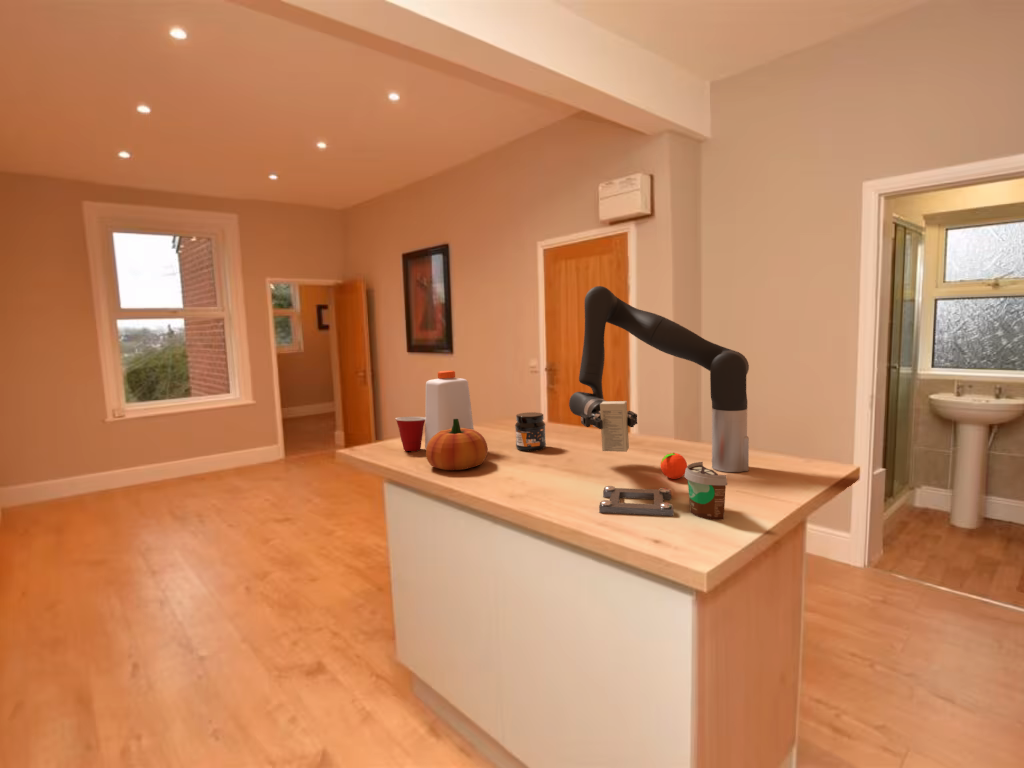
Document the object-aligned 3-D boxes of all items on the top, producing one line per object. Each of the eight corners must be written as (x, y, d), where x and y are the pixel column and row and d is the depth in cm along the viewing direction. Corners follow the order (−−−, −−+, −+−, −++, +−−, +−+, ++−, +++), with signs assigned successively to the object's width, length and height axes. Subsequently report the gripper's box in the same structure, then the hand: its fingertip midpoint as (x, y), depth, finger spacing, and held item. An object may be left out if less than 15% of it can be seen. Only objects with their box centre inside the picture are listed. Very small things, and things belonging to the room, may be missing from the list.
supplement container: (513, 451, 182) (512, 417, 181) (518, 445, 193) (517, 412, 191) (544, 451, 181) (543, 416, 179) (547, 444, 191) (546, 411, 190)
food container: (675, 504, 124) (675, 462, 123) (701, 503, 124) (701, 461, 123) (698, 524, 112) (698, 477, 111) (727, 522, 112) (727, 475, 111)
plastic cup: (434, 448, 193) (432, 415, 192) (413, 454, 184) (411, 420, 183) (412, 445, 199) (410, 413, 197) (390, 451, 190) (388, 418, 188)
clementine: (670, 484, 140) (670, 457, 139) (652, 478, 146) (651, 452, 145) (692, 479, 143) (692, 453, 142) (674, 473, 149) (673, 448, 149)
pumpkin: (462, 455, 181) (460, 411, 179) (501, 464, 167) (499, 417, 165) (414, 467, 167) (411, 420, 166) (452, 478, 154) (449, 426, 152)
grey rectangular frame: (670, 496, 130) (670, 487, 130) (673, 516, 117) (673, 506, 116) (604, 493, 134) (604, 485, 134) (599, 512, 121) (599, 503, 120)
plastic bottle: (456, 443, 199) (452, 368, 196) (480, 449, 188) (476, 370, 185) (420, 450, 190) (416, 372, 187) (444, 457, 178) (439, 374, 175)
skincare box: (629, 448, 135) (628, 400, 134) (626, 452, 131) (626, 403, 130) (603, 447, 138) (602, 400, 136) (600, 451, 134) (599, 403, 132)
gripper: (574, 401, 147) (587, 410, 130) (625, 398, 148) (645, 407, 132) (575, 427, 148) (588, 440, 131) (625, 424, 149) (645, 437, 133)
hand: (616, 424), depth 132 cm, fingers closed on skincare box, 7 cm apart
